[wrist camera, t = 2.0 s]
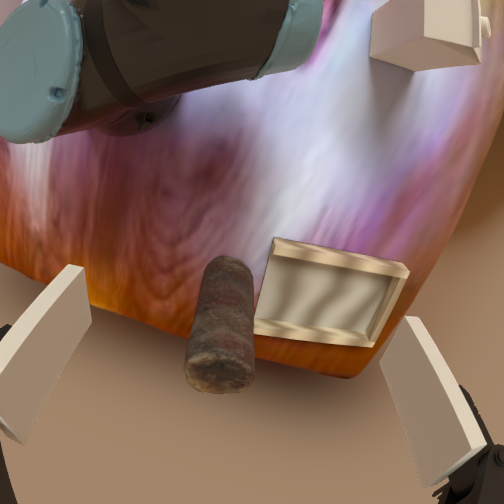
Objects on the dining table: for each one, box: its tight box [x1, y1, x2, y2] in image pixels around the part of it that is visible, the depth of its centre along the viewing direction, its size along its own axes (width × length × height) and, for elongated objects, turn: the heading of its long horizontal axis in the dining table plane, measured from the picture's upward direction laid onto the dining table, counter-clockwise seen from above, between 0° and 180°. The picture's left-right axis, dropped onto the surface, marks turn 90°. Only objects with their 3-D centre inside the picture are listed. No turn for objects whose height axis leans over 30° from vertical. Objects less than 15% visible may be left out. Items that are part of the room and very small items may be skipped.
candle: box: [184, 256, 255, 394], centre depth 37 cm, size 8×7×20 cm
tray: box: [254, 237, 410, 347], centre depth 46 cm, size 21×15×3 cm
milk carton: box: [369, 0, 491, 72], centre depth 22 cm, size 7×7×19 cm
